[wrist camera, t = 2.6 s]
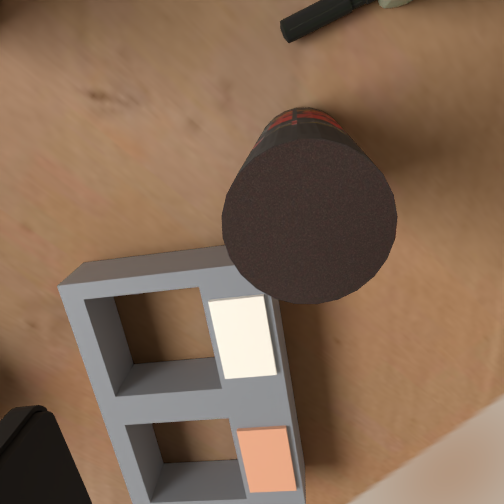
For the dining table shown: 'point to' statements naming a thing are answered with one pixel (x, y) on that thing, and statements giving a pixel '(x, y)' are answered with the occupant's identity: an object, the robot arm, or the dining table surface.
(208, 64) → the dining table surface
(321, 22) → the handheld radio
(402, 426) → the dining table surface
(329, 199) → the deodorant
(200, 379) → the socket board
